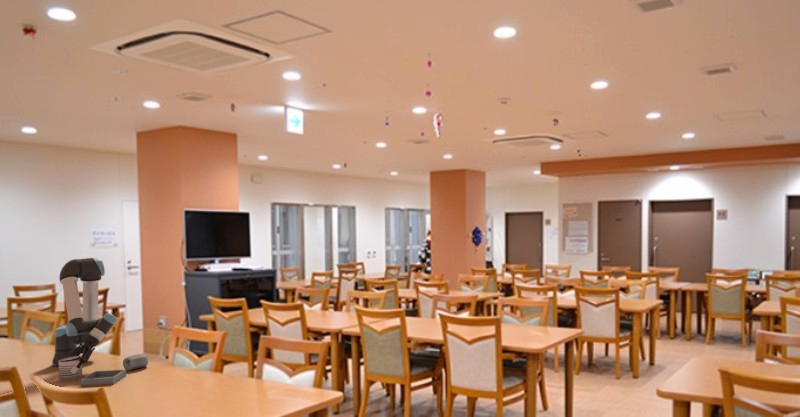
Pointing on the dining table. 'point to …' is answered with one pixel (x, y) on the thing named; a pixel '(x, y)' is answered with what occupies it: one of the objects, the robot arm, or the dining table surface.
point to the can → (69, 369)
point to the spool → (135, 362)
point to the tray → (103, 377)
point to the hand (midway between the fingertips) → (67, 371)
